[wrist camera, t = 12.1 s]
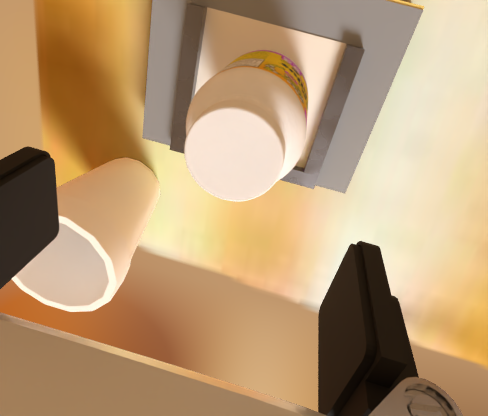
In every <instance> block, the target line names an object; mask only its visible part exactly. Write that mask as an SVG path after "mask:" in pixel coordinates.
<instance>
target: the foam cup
mask: <svg viewBox="0 0 488 416" xmlns="http://www.w3.org/2000/svg"><path fill="white" fill-rule="evenodd" d="M56 189H57V202H58V216H59V232H58V235H57V237H56V238H55V239H54V240H53V241H52V242H51V243H50V244H49V245H48V246H47V247H45V248H44V249H43V250H42V251H41V252H40V253H39V254H38V255H37V256H36V257H35V258H34V259H32V260H31V261H30V262H29V263H28V264H27V265H26V266H25V267H24V268H23V269H22V270H21V271H19V272H18V273H17V274H16V275H15V276H14V277H13V278H12V280H13V281H14V282H15V283H16V284H17V285H18V286H19V287H20V289H22V290H23V291H25V292H26V293H28V294H29V295H31V296H32V297H34V298H36V299H37V300H39V301H41V302H42V303H44V304H46V305H49V306H52V307H56V308H59V309H62V310H66V311H69V312H78V311H94V310H95V309H97V308H99V307H100V306H102V305H104V304H106V303H107V302H109V301H110V300H111V299H112V297H113V296H114V294H115V293H116V291H117V290H118V288H119V287H120V285H121V284H122V282H123V281H124V278H125V276H126V273H127V271H128V269H129V266H130V264H131V262H130V260H131V258H132V256H133V254H134V251H135V249H136V247H137V245H138V243H139V241H140V239H141V236H142V234H143V232H144V230H145V228H146V226H147V224H148V221H149V219H150V217H151V215H152V213H153V211H154V209H155V206H156V204H157V201H158V199H159V197H160V186H159V181H158V180H157V178H156V176H155V175H154V173H153V171H152V170H151V169H150V168H148V167H147V166H146V165H144V164H143V163H142V162H140V161H138V160H134V159H131V158H127V157H125V158H119V159H114V160H112V161H109V162H107V163H105V164H103V165H101V166H99V167H97V168H95V169H93V170H91V171H89V172H87V173H85V174H83V175H81V176H79V177H77V178H75V179H73V180H71V181H69V182H67V183H65V184H63V185H61V186H59V187H57V188H56Z"/></svg>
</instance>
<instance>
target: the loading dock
mask: <svg viewBox="0 0 488 416" xmlns="http://www.w3.org/2000/svg"><path fill="white" fill-rule="evenodd" d="M187 3H193V4H197V5H201V6H205V7H207V13H206V20H205V27H204V34H203V41H202V48H201V55H200V62H199V68H198V75H197V82H196V89H195V94H196V93H197V91H198V90H199V89H200V88H201V87H202V86H203V85H204V84H205V83H206V82H207V81H208V80H209V79H210V78H212V77H213V76H214V75H216V74H217V73H218V72H220V71H221V70H222V69H224V68H225V67H226V66H228V65H229V64H230V63H231V62H233V61H234V60H235V59H237V58H238V57H240V56H242V55H244V54H246V53H249V52H251V51H256V50H272V51H276V52H279V53H281V54H283V55H285V56H287V57H288V58H290V59H291V60H292V61H293V62H294V63H295V64H296V65H297V66H298V67H299V69H300V70H301V72H302V73H303V75H304V77H305V80H306V83H307V88H308V113H307V129H306V140H305V145H304V149H303V151H302V154H301V156H300V158H299V160H298V162H297V163H296V165H295V166H299V167H303V168H304V167H305V164H306V161H307V158H308V155H309V152H310V149H311V146H312V143H313V140H314V138H315V135H316V132H317V129H318V126H319V123H320V120H321V117H322V114H323V111H324V108H325V105H326V102H327V99H328V96H329V94H330V91H331V88H332V85H333V82H334V79H335V76H336V73H337V70H338V67H339V64H340V61H341V58H342V55H343V53H344V50H345V47H346V44H350V45H353V46H357V47H361V48H364V49H365V51H364V54H363V57H362V59H361V62H360V65H359V67H358V70H357V73H356V76H355V78H354V81H353V84H352V86H351V89H350V92H349V95H348V97H347V100H346V103H345V105H344V108H343V111H342V113H341V116H340V119H339V122H338V124H337V127H336V130H335V132H334V135H333V138H332V141H331V143H330V146H329V149H328V151H327V154H326V157H325V159H324V162H323V165H322V168H321V170H320V173H319V176H318V178H317V181H316V184H315V185H316V186H320V187H324V188H327V189H331V190H335V191H338V192H342V193H345V192H346V190H347V188H348V185H349V183H350V181H351V178H352V176H353V174H354V171H355V169H356V167H357V164H358V162H359V160H360V157H361V155H362V153H363V150H364V148H365V146H366V143H367V141H368V138H369V136H370V134H371V131H372V129H373V127H374V124H375V122H376V120H377V117H378V115H379V113H380V110H381V108H382V106H383V103H384V101H385V99H386V96H387V94H388V92H389V89H390V87H391V85H392V82H393V80H394V77H395V75H396V73H397V70H398V68H399V66H400V63H401V61H402V59H403V56H404V54H405V52H406V49H407V47H408V45H409V42H410V40H411V38H412V35H413V33H414V31H415V28H416V26H417V24H418V21H419V19H420V16H421V14H422V12H423V8H424V6H420V5H416V4H413V3H409V2H405V1H401V0H152V13H151V27H150V41H149V55H148V69H147V83H146V97H145V110H144V124H143V138H144V139H148V140H152V141H155V142H159V143H163V144H166V145H170V144H171V135H172V127H173V118H174V110H175V101H176V93H177V84H178V76H179V67H180V59H181V50H182V42H183V33H184V24H185V16H186V7H187Z"/></svg>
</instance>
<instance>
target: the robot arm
mask: <svg viewBox="0 0 488 416" xmlns="http://www.w3.org/2000/svg"><path fill="white" fill-rule="evenodd" d="M58 232H59V216H58V202H57V189H56V175H55V163H54V160H53V159H52V158H50V155H49V153H48V152H46V151H42V150H39V149H35V148H32V147H24V148H22V149H20V150H19V151H17V152H15V153H13V154H11V155H9V156H7V157H5V158H3V159H1V160H0V289H1V288H2V287H3V286H4V285H5V284H6V283H7V282H9V281H10V280H11V279H12V278H13V277H14V276H15V275H16V274H17V273H18V272H19V271H21V270H22V269H23V268H24V267H25V266H26V265H27V264H28V263H29V262H30V261H31V260H32V259H34V258H35V257H36V256H37V255H38V254H39V253H40V252H41V251H42V250H43V249H44V248H45V247H47V246H48V245H49V244H50V243H51V242H52V241H53V240H54V239H55V238H56V237H57V235H58ZM318 346H319V350H318V354H319V355H318V360H319V362H318V364H319V365H318V369H319V371H318V375H319V376H318V379H319V380H318V381H319V382H318V383H319V384H318V385H319V386H318V388H319V389H318V406H319V407H318V412H316V411H313V410H311V409H308V408H305V407H303V406H300V405H297V404H293V403H291V402H287V401H284V400H281V399H278V398H275V397H272V396H269V395H266V394H263V393H260V392H257V391H254V390H251V389H248V388H244V387H242V386H239V385H235V384H232V383H229V382H226V381H223V380H219V379H216V378H213V377H210V376H206V375H203V374H200V373H197V372H194V371H190V370H187V369H184V368H181V367H178V366H174V365H171V364H167V363H165V362H161V361H158V360H155V359H152V358H149V357H145V356H142V355H139V354H136V353H132V352H129V351H126V350H122V349H119V348H116V347H112V346H109V345H106V344H103V343H99V342H96V341H93V340H90V339H86V338H83V337H80V336H77V335H73V334H70V333H67V332H63V331H60V330H57V329H53V328H50V327H47V326H43V325H40V324H37V323H34V322H30V321H27V320H23V319H20V318H17V317H14V316H10V315H6V314H3V313H0V416H463V415H462V413H461V411H460V409H459V408H458V406H457V405H456V403H455V402H454V400H453V399H452V398H451V397H450V396H449V395H448V394H447V393H446V392H445V391H444V390H442V389H441V388H440V387H438V386H437V385H436V384H434V383H432V382H430V381H428V380H426V379H422V378H419V377H418V373H417V369H416V365H415V361H414V358H413V354H412V350H411V346H410V342H409V338H408V335H407V331H406V327H405V323H404V319H403V315H402V312H401V308H400V304H399V301H398V299H397V298H396V297H395V296H391V292H390V288H389V284H388V280H387V276H386V271H385V267H384V263H383V259H382V255H381V251H380V248H379V246H376V245H372V244H369V243H365V242H362V241H359V242H358V243H357V244H356V245H355V244H351V245H350V246H349V248H348V250H347V252H346V254H345V256H344V258H343V260H342V262H341V264H340V267H339V269H338V271H337V273H336V275H335V277H334V279H333V281H332V283H331V285H330V287H329V289H328V292H327V294H326V296H325V298H324V300H323V302H322V304H321V307H320V310H319V345H318Z"/></svg>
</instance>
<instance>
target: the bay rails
mask: <svg viewBox="0 0 488 416" xmlns="http://www.w3.org/2000/svg"><path fill="white" fill-rule="evenodd" d="M206 13H207V7H205V6H201V5H197V4H193V3H187V7H186V16H185V24H184V33H183V42H182V50H181V59H180V67H179V76H178V84H177V93H176V101H175V110H174V118H173V127H172V135H171V144H170V150H173V151H177V152H180V153H184V145H185V140H186V118H187V113H188V109H189V106H190V104H191V102H192V99H193V98H194V96H195V89H196V82H197V75H198V68H199V62H200V55H201V48H202V41H203V34H204V27H205V20H206ZM364 51H365V49H364V48H361V47H357V46H353V45H350V44H346V47H345V50H344V53H343V55H342V58H341V61H340V64H339V67H338V70H337V73H336V76H335V79H334V82H333V85H332V88H331V91H330V94H329V96H328V99H327V102H326V105H325V108H324V111H323V114H322V117H321V120H320V123H319V126H318V129H317V132H316V135H315V138H314V140H313V143H312V146H311V149H310V152H309V155H308V158H307V161H306V164H305V167H304V168H303V167H299V166H294V167H293V169H292V170H291V171H290V172H289V173H288V174H287V175H285V176H284V177H283V178H282V179H280V180H283V181H286V182H290V183H294V184H297V185H301V186H305V187H308V188H312V189H314V187H315V184H316V181H317V178H318V176H319V173H320V170H321V168H322V165H323V162H324V159H325V157H326V154H327V151H328V149H329V146H330V143H331V141H332V138H333V135H334V132H335V130H336V127H337V124H338V122H339V119H340V116H341V113H342V111H343V108H344V105H345V103H346V100H347V97H348V95H349V92H350V89H351V86H352V84H353V81H354V78H355V76H356V73H357V70H358V67H359V65H360V62H361V59H362V57H363V54H364Z"/></svg>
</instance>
